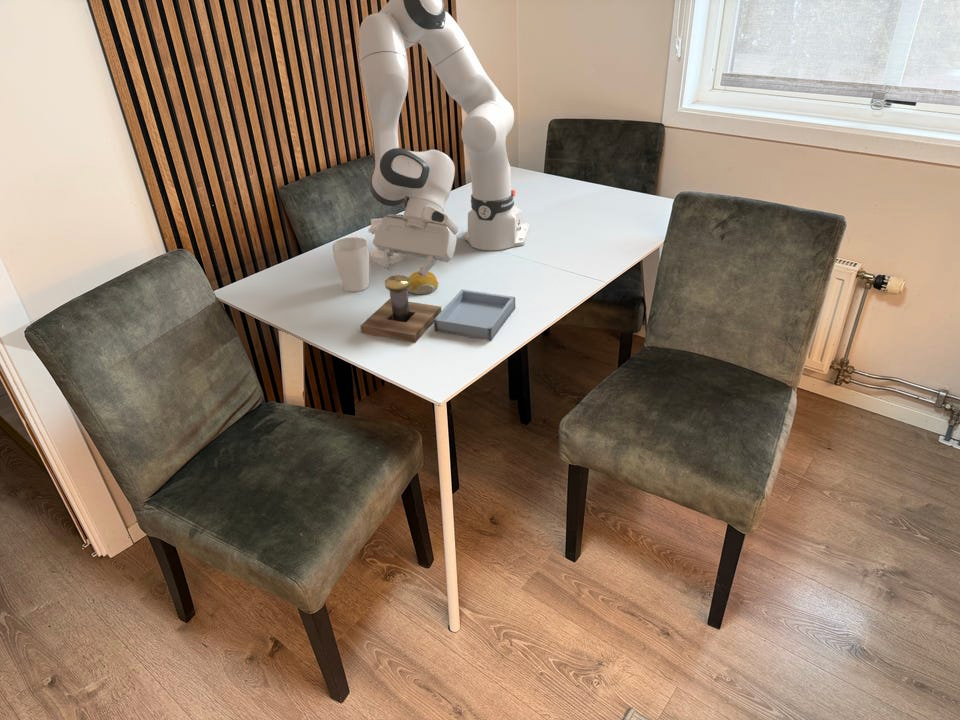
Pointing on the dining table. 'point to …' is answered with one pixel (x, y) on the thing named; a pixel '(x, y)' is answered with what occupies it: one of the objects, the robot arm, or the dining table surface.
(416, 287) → the bread roll
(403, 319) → the pin
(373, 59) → the robot arm
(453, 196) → the dining table surface
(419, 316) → the socket block
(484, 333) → the tray
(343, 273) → the cup
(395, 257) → the character figurine
